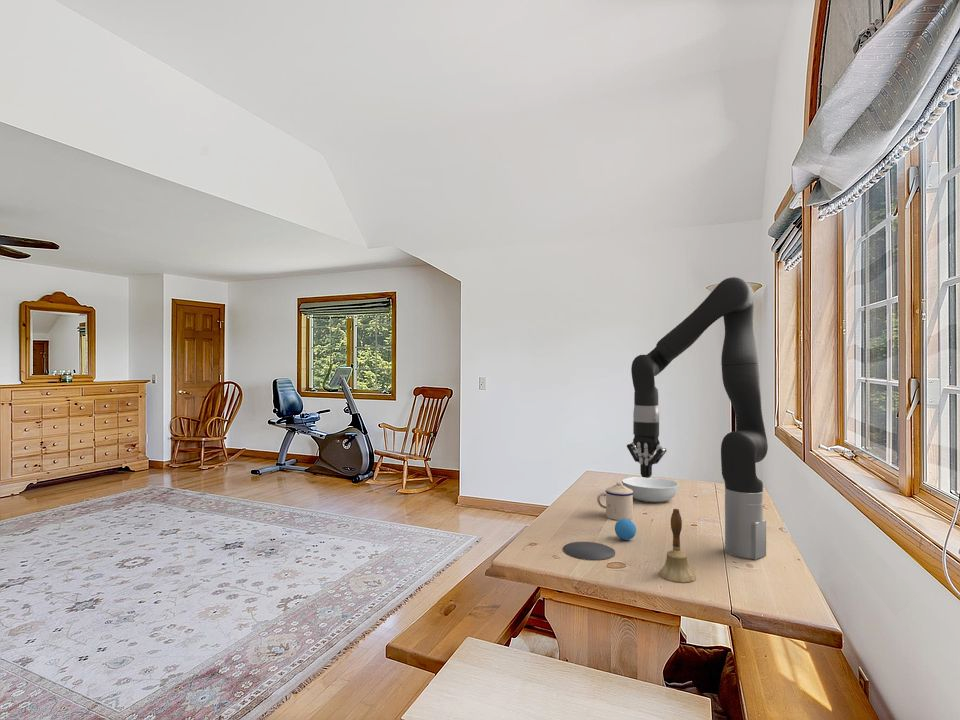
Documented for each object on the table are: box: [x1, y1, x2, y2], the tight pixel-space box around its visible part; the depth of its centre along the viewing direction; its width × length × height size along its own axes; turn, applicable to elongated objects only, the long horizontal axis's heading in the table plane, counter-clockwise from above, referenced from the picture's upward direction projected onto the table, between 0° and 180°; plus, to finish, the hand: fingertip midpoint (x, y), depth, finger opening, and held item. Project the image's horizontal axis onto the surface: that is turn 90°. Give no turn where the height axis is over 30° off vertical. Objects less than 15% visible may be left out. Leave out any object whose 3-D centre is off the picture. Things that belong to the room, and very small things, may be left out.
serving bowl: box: [621, 476, 680, 503], centre depth 198 cm, size 21×21×7 cm
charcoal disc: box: [562, 541, 616, 561], centre depth 141 cm, size 14×14×1 cm
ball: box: [614, 519, 637, 541], centre depth 151 cm, size 6×6×6 cm
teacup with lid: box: [596, 481, 634, 521], centre depth 174 cm, size 12×9×12 cm
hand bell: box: [658, 508, 696, 584], centre depth 124 cm, size 8×8×16 cm
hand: (646, 477), depth 157 cm, fingers closed
